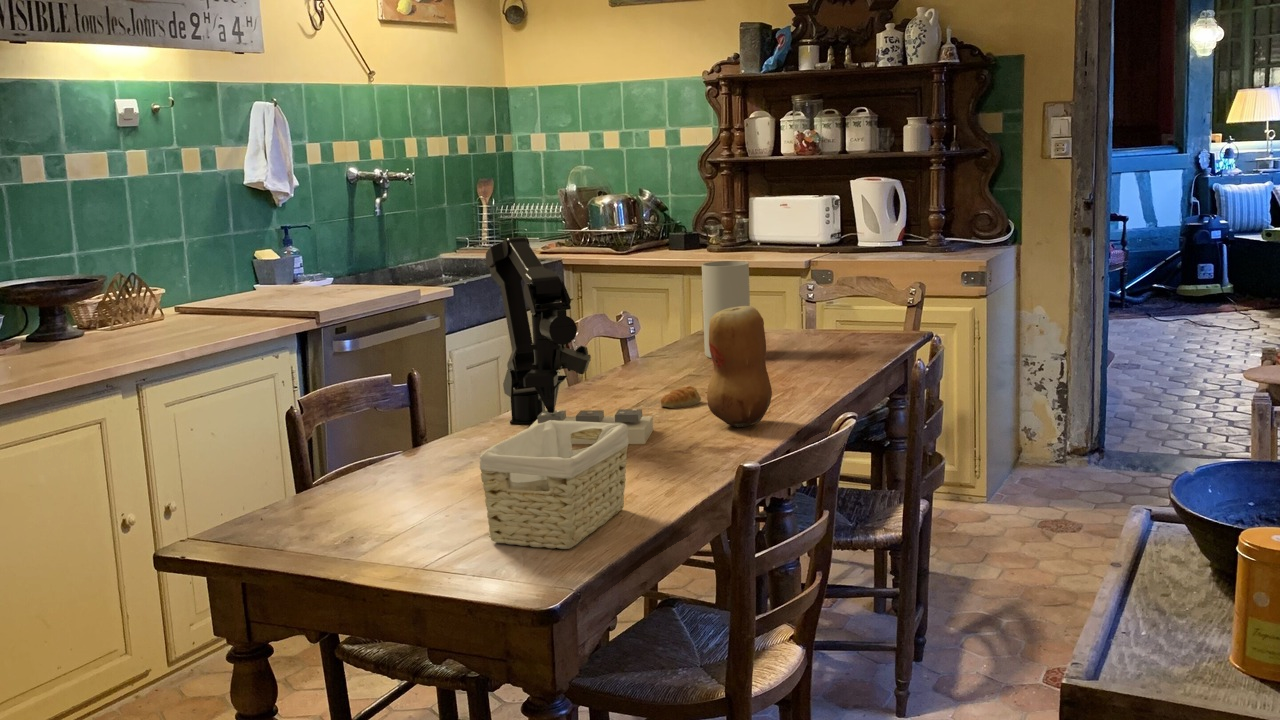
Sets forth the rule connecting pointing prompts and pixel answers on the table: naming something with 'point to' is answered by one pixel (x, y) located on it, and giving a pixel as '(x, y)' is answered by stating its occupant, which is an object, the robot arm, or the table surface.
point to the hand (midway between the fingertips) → (551, 412)
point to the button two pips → (628, 415)
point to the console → (636, 430)
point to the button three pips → (551, 416)
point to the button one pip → (590, 416)
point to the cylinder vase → (723, 290)
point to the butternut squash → (738, 367)
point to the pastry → (681, 398)
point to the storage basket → (554, 483)
